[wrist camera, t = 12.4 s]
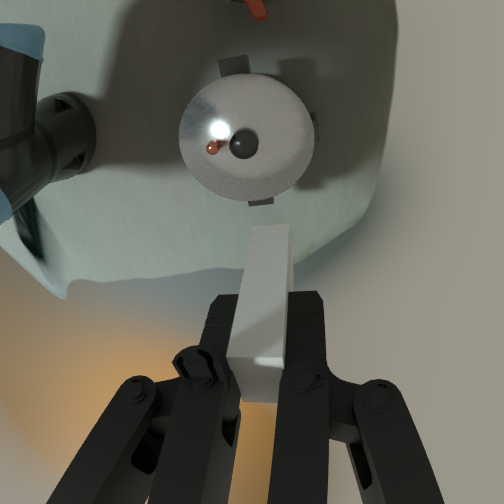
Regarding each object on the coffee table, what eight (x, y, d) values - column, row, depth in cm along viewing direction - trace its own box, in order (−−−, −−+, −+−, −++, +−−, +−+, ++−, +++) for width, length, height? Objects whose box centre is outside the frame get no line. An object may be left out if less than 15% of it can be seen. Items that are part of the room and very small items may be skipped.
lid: (198, 204, 39) (193, 216, 36) (167, 89, 30) (158, 93, 28) (322, 189, 36) (325, 200, 34) (307, 64, 27) (310, 65, 25)
